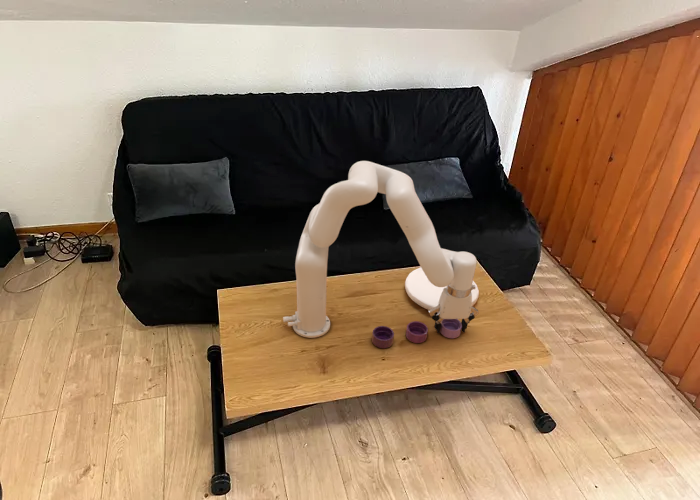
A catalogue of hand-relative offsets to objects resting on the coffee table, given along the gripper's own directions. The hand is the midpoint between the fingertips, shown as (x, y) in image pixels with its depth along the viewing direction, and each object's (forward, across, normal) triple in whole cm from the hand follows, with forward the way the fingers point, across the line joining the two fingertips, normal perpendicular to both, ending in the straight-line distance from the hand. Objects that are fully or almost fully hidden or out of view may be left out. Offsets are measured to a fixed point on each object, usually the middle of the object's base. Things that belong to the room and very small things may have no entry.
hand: (450, 329), depth 165 cm
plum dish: (+1, +12, +2) cm, 12 cm away
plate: (+1, -2, -21) cm, 21 cm away
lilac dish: (+1, 0, 0) cm, 1 cm away
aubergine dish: (+1, +23, +4) cm, 24 cm away
